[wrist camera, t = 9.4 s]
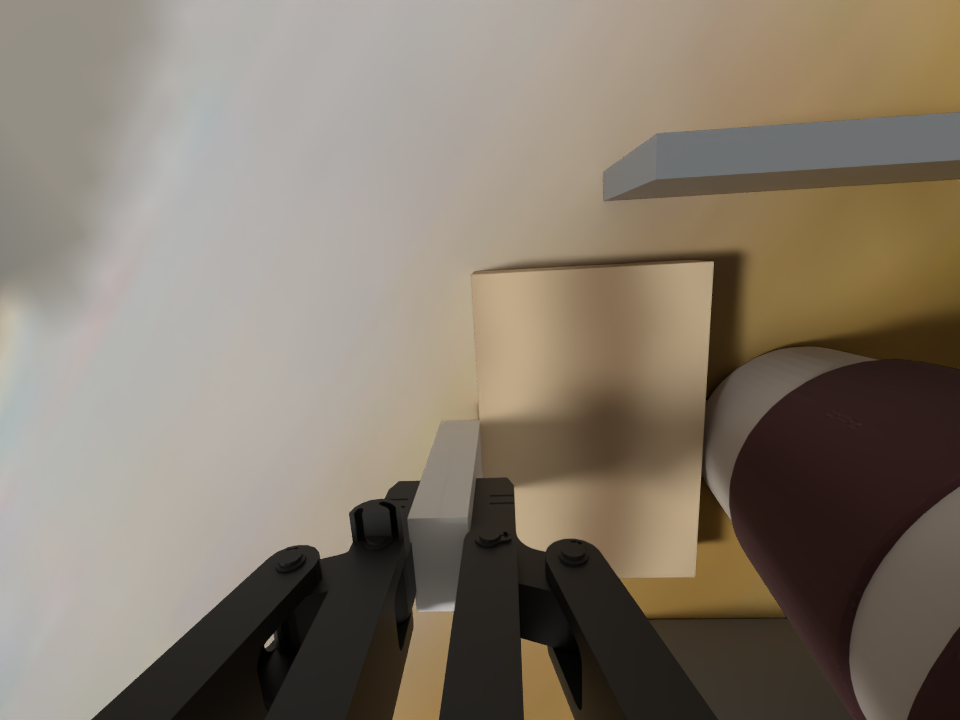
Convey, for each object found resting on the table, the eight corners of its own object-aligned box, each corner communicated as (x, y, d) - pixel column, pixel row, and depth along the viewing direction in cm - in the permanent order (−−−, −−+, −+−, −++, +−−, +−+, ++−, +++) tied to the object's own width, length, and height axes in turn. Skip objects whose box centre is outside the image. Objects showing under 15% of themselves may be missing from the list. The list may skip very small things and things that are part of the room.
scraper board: (491, 541, 21) (489, 579, 19) (475, 270, 18) (470, 274, 16) (672, 537, 21) (695, 577, 18) (685, 258, 18) (713, 261, 15)
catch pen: (600, 638, 21) (636, 785, 16) (603, 171, 17) (656, 133, 11) (996, 635, 20) (1192, 792, 15) (1121, 137, 16) (1487, 75, 10)
